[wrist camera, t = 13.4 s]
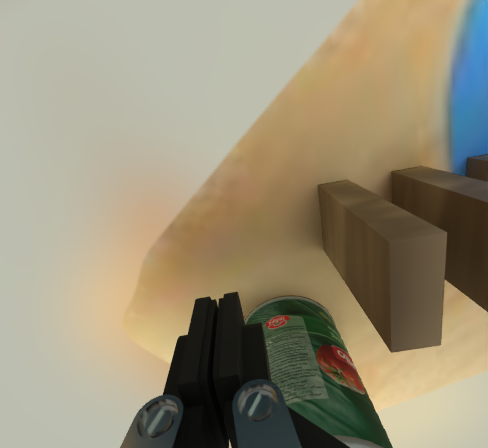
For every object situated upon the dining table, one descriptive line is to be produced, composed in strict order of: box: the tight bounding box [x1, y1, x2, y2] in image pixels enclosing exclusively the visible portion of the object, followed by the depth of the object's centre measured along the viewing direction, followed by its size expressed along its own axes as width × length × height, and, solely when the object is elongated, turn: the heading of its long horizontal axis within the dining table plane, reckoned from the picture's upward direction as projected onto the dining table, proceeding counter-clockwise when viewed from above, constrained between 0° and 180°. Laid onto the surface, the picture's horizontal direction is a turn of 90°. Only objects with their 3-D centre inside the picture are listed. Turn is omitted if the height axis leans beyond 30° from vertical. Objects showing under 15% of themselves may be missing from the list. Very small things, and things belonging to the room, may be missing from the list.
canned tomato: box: [245, 296, 393, 448], centre depth 19 cm, size 8×8×11 cm
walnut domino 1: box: [318, 180, 447, 353], centre depth 16 cm, size 2×5×10 cm, turn 10°
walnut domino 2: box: [392, 166, 488, 312], centre depth 15 cm, size 2×5×10 cm, turn 10°
